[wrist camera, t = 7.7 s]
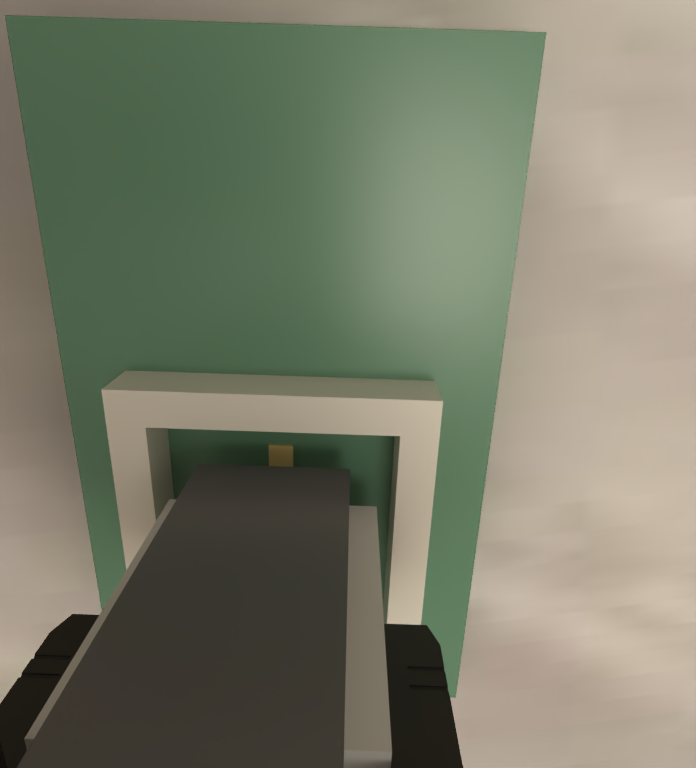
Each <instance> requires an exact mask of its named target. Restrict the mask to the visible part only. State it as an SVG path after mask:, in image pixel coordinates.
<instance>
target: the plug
mask: <svg viewBox="0 0 696 768" xmlns="http://www.w3.org/2000/svg"><path fill="white" fill-rule="evenodd" d="M349 499H350V469H340V468H311V467H282V466H253V465H224V464H198V465H197V466H196V468H195V470H194V471H193V473H192V475H191V476H190V478H189V480H188V481H187V483H186V485H185V486H184V488H183V490H182V491H181V493H180V495H179V496H178V498H177V500H176V501H175V503H174V505H173V506H172V508H171V510H170V511H169V513H168V515H167V517H166V518H165V520H164V522H163V523H162V525H161V527H160V528H159V530H158V532H157V533H156V535H155V537H154V538H153V540H152V542H151V543H150V545H149V547H148V548H147V550H146V552H145V553H144V555H143V557H142V558H141V560H140V562H139V563H138V565H137V567H136V569H135V570H134V572H133V574H132V575H131V577H130V579H129V580H128V582H127V584H126V585H125V587H124V589H123V590H122V592H121V594H120V595H119V597H118V599H117V600H116V602H115V604H114V605H113V607H112V609H111V610H110V612H109V614H108V615H107V617H106V619H105V621H104V622H103V624H102V626H101V627H100V629H99V631H98V632H97V634H96V636H95V637H94V639H93V641H92V642H91V644H90V646H89V647H88V649H87V651H86V652H85V654H84V656H83V657H82V659H81V661H80V662H79V664H78V666H77V667H76V669H75V671H74V673H73V674H72V676H71V678H70V679H69V681H68V683H67V684H66V686H65V688H64V689H63V691H62V693H61V694H60V696H59V698H58V699H57V701H56V703H55V704H54V706H53V708H52V709H51V711H50V713H49V714H48V716H47V718H46V719H45V721H44V723H43V725H42V726H41V728H40V730H39V731H38V733H37V735H36V736H35V738H34V740H33V741H32V743H31V745H30V746H29V748H28V750H27V751H26V753H25V755H24V756H23V758H22V760H21V761H20V763H19V765H18V766H17V768H344V726H345V681H346V635H347V590H348V545H349Z"/></svg>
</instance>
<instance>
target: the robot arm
mask: <svg viewBox="0 0 696 768" xmlns="http://www.w3.org/2000/svg"><path fill="white" fill-rule="evenodd" d="M175 501H176V499H169V501H168V503H167V504H166V506H165V508H164V509H163V511H162V512H161V514H160V516H159V517H158V519H157V521H156V522H155V524H154V526H153V527H152V529H151V531H150V532H149V534H148V536H147V537H146V539H145V540H144V542H143V544H142V545H141V547H140V549H139V550H138V552H137V554H136V555H135V557H134V559H133V560H132V562H131V564H130V565H129V567H128V569H127V570H126V572H125V573H124V575H123V577H122V578H121V580H120V582H119V583H118V585H117V587H116V588H115V590H114V592H113V593H112V595H111V597H110V598H109V600H108V601H107V603H106V605H105V606H104V608H103V610H102V611H101V613H100V615H83V614H72V615H71V616H70V617H68V618H67V619H66V620H65V621H64V622H62V623H61V624H60V625H59V626H57V627H56V628H55V629H54V630H52V631H51V632H50V633H49V635H48V636H47V637H46V639H45V640H44V642H43V643H42V645H41V646H40V648H39V649H38V650H37V652H36V653H35V657H34V659H31V661H30V662H29V663H28V665H27V666H26V668H25V669H24V671H23V672H22V676H21V678H18V679H17V681H16V682H15V684H14V685H13V686H12V688H11V689H10V691H9V692H8V694H7V695H6V697H5V698H4V699H3V701H2V702H1V704H0V768H17V766H18V765H19V763H20V761H21V760H22V758H23V756H24V755H25V753H26V751H27V750H28V748H29V746H30V745H31V743H32V741H33V740H34V738H35V736H36V735H37V733H38V731H39V730H40V728H41V726H42V725H43V723H44V721H45V719H46V718H47V716H48V714H49V713H50V711H51V709H52V708H53V706H54V704H55V703H56V701H57V699H58V698H59V696H60V694H61V693H62V691H63V689H64V688H65V686H66V684H67V683H68V681H69V679H70V678H71V676H72V674H73V673H74V671H75V669H76V667H77V666H78V664H79V662H80V661H81V659H82V657H83V656H84V654H85V652H86V651H87V649H88V647H89V646H90V644H91V642H92V641H93V639H94V637H95V636H96V634H97V632H98V631H99V629H100V627H101V626H102V624H103V622H104V621H105V619H106V617H107V615H108V614H109V612H110V610H111V609H112V607H113V605H114V604H115V602H116V600H117V599H118V597H119V595H120V594H121V592H122V590H123V589H124V587H125V585H126V584H127V582H128V580H129V579H130V577H131V575H132V574H133V572H134V570H135V569H136V567H137V565H138V563H139V562H140V560H141V558H142V557H143V555H144V553H145V552H146V550H147V548H148V547H149V545H150V543H151V542H152V540H153V538H154V537H155V535H156V533H157V532H158V530H159V528H160V527H161V525H162V523H163V522H164V520H165V518H166V517H167V515H168V513H169V511H170V510H171V508H172V506H173V505H174V503H175ZM344 768H463V765H462V760H461V755H460V749H459V744H458V739H457V733H456V728H455V722H454V717H453V711H452V706H451V701H450V695H449V691H448V684H447V679H446V673H445V671H444V663H443V657H442V652H441V646H440V644H439V642H438V641H437V639H436V638H435V636H434V635H433V633H432V632H431V630H430V629H429V627H428V626H427V625H410V624H384V616H383V600H382V585H381V569H380V553H379V537H378V521H377V506H350V505H349V545H348V590H347V635H346V681H345V726H344Z"/></svg>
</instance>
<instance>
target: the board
mask: <svg viewBox="0 0 696 768" xmlns="http://www.w3.org/2000/svg"><path fill="white" fill-rule="evenodd" d="M5 19H6V25H7V31H8V38H9V44H10V50H11V56H12V62H13V68H14V74H15V80H16V87H17V93H18V99H19V105H20V111H21V117H22V123H23V130H24V136H25V142H26V148H27V154H28V160H29V166H30V172H31V179H32V185H33V191H34V197H35V203H36V209H37V215H38V221H39V228H40V234H41V240H42V246H43V252H44V258H45V264H46V270H47V277H48V283H49V289H50V295H51V301H52V307H53V313H54V320H55V326H56V332H57V338H58V344H59V350H60V356H61V362H62V369H63V375H64V381H65V387H66V393H67V399H68V405H69V411H70V418H71V424H72V430H73V436H74V442H75V448H76V454H77V461H78V467H79V473H80V479H81V485H82V491H83V497H84V503H85V510H86V516H87V522H88V528H89V534H90V540H91V546H92V552H93V559H94V565H95V571H96V577H97V583H98V589H99V595H100V601H101V608H102V610H103V608H104V606H105V605H106V603H107V601H108V600H109V598H110V597H111V595H112V593H113V592H114V590H115V588H116V587H117V585H118V583H119V582H120V580H121V578H122V577H123V575H124V573H125V572H126V570H127V569H128V567H129V565H130V564H131V562H132V560H133V559H134V557H135V555H136V554H137V552H138V550H139V549H140V547H141V545H142V544H143V542H144V540H145V539H146V537H147V536H148V534H149V532H150V531H151V529H152V527H153V526H154V524H155V522H156V521H157V519H158V517H159V516H160V514H161V512H162V511H163V509H164V508H165V506H166V504H167V503H168V501H169V499H176V500H177V498H178V496H179V495H180V493H181V491H182V490H183V488H184V486H185V485H186V483H187V481H188V480H189V478H190V476H191V475H192V473H193V471H194V470H195V468H196V466H197V465H198V464H224V465H253V466H282V467H311V468H340V469H350V499H349V505H350V506H377V521H378V537H379V553H380V569H381V585H382V600H383V616H384V624H410V625H427V626H428V627H429V629H430V630H431V632H432V633H433V635H434V636H435V638H436V639H437V641H438V642H439V644H440V646H441V652H442V657H443V663H444V671H445V673H446V679H447V684H448V691H449V695H450V697H455V698H456V691H457V684H458V676H459V669H460V662H461V654H462V647H463V640H464V632H465V625H466V618H467V610H468V603H469V596H470V588H471V581H472V574H473V566H474V559H475V552H476V544H477V537H478V530H479V522H480V515H481V508H482V500H483V493H484V486H485V478H486V471H487V464H488V456H489V449H490V442H491V434H492V427H493V420H494V412H495V405H496V398H497V390H498V383H499V376H500V368H501V361H502V354H503V346H504V339H505V332H506V324H507V317H508V310H509V302H510V295H511V288H512V280H513V273H514V266H515V258H516V251H517V244H518V236H519V229H520V222H521V214H522V207H523V200H524V192H525V185H526V178H527V170H528V163H529V156H530V148H531V141H532V134H533V126H534V119H535V112H536V104H537V97H538V90H539V82H540V75H541V68H542V60H543V53H544V46H545V38H546V32H523V31H491V30H459V29H427V28H396V27H364V26H332V25H300V24H268V23H236V22H205V21H173V20H141V19H109V18H77V17H45V16H14V15H5Z"/></svg>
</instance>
